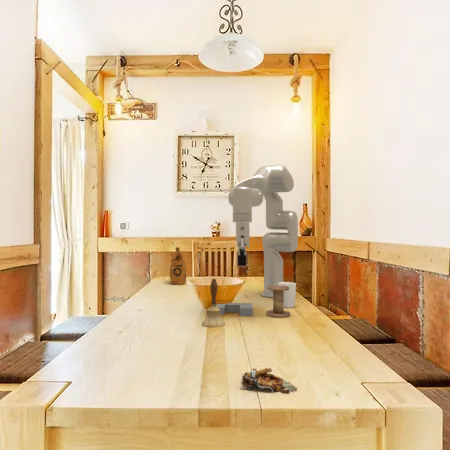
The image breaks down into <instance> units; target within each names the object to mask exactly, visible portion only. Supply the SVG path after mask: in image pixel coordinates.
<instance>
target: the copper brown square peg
mask: <svg viewBox="0 0 450 450" xmlns="http://www.w3.org/2000/svg"><path fill="white" fill-rule="evenodd" d="M238 255H239V250H236V265H235V266H236V268H247V267H248V259H247V258H248V251H247V250H246V266H238Z"/></svg>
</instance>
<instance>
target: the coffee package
mask: <svg viewBox="0 0 450 450" xmlns="http://www.w3.org/2000/svg"><path fill="white" fill-rule="evenodd" d="M169 266H170V267H169V278H170V279H169V280H170V282H171V283H170V284H172V285H173V286H174V285H175V286H176V285H177V286H179V285H182V286H183V285H185V284H186V282H187V269H186V268H187V267H186V262H185V259H184V254H183V253H182V251H181V247H179V246H176V247H175V252H174V254H173V256H172V257H171V261H170V265H169Z"/></svg>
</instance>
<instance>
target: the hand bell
mask: <svg viewBox="0 0 450 450" xmlns="http://www.w3.org/2000/svg"><path fill="white" fill-rule="evenodd" d="M209 287H210V288H209V290H210V295H211V302H210V303H211V304H210V305H211V306H210V307H208V308H207V310H206V315H205V318H204V320H203V321H202V322H201V325H202V326H205V327H208V326H209V327H210V328H216V327H215V326H220V327H223V325H224V326H225V325H226V323H225V321H224V320H223V317H222V316H221V314H220V309H219V308H217V307H216V303H217V294H218V289H219V287H218V283H217V279H216V278H212V279H211V282H210V285H209Z"/></svg>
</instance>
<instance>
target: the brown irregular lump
mask: <svg viewBox="0 0 450 450" xmlns="http://www.w3.org/2000/svg"><path fill="white" fill-rule="evenodd" d="M271 372H273V369H272V367H266V368H261V369H259V370H257V369H256V368H253V369H251V370H250V372H244V374H243V373H242V374H241V375H242V376H241V377H242V379H241V381H243V382H244V384H245V386H246V388H245V387H242V386H240V387H239V390H241V391H249V392H251V391H253V390H252V386H254V385H255V386H257V387H258V388H259V389H263V390H265V389H270V391H271V392H272V393H273V394H275V393H282V394H290V393H295V392H298V387H297V386H296V385H295V384H293V383H291V382H290V381H289V380H286V379H284V378H281V377H280V376H278V375H274V374H272V373H271Z"/></svg>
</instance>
